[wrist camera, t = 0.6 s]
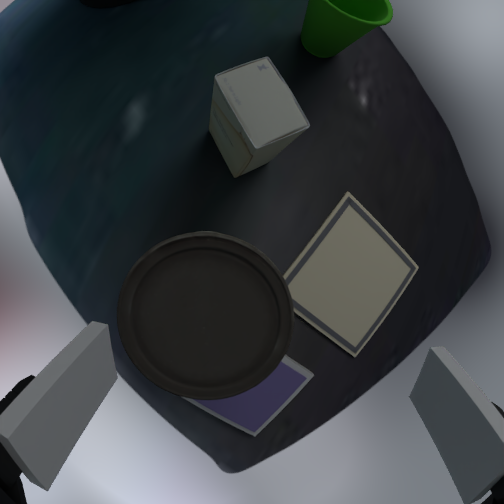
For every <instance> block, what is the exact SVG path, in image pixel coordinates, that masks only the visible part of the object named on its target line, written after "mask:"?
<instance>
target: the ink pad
mask: <svg viewBox="0 0 504 504" xmlns="http://www.w3.org/2000/svg"><path fill="white" fill-rule="evenodd" d="M313 376H314V374H313V373H312V372H311V371H309V370H308V369H306V368H305V367H303V366H302V365H300V364H299V363H297V362H296V361H294V360H293V359H291V358H290V357H288V356H287V355H285V356H284V357H283V359H282V361H281V362H280V363H279V365H278V366H277V368H276V369H275V370H274V371H273V372H272V373H271V374H270V375H269V376H268V377H267V378H266V379H265V380H264V381H262V382H261V383H260V384H258V385H257V386H256V387H254V388H252V389H250V390H248V391H246V392H244V393H241V394H239V395H236V396H233V397H229V398H225V399H219V400H195V399H190V398H185V397H182V398H184V399H186V400H187V401H189V402H191V403H192V404H194V405H196V406H198V407H199V408H201V409H203V410H205V411H206V412H208V413H210V414H212V415H214V416H215V417H217V418H219V419H221V420H223V421H225V422H227V423H229V424H231V425H233V426H235V427H237V428H239V429H241V430H243V431H245V432H247V433H249V434H251V435H253V436H256V435H257V434H258V433H259V432H260V431H261V430H262V429H263V428H264V427H265V426H266V425H267V424H268V423H269V422H270V421H272V420H273V419H274V418H275V417H276V416H277V415H278V414H279V412H280V411H281V410H282V409H283V408H284V407H285V406H286V405H287V404H288V403H289V402H290V401H291V400H292V399H293V398H294V397H295V396H296V395H297V394H298V393H299V392H300V390H301V389H302V388H303V387H304V386H305V385H306V384H307V383H308V382H309V381H310V379H311V378H312V377H313Z"/></svg>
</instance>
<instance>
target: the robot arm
mask: <svg viewBox="0 0 504 504" xmlns="http://www.w3.org/2000/svg"><path fill="white" fill-rule="evenodd" d="M80 1H81V2H82V3H83V4H85V5H87V6H90V7H96V8H104V7H112V6H117V5H122V4H125V3H129V2H132V1H134V0H80ZM116 380H117V373H116V368H115V363H114V358H113V352H112V347H111V341H110V335H109V328H108V324H103V323H98V322H94V321H92V322H91V323H90V324H89V325H88V326H87V327H86V328H85V329H83V330H82V331H81V332H80V333H79V334H78V335H77V336H76V337H75V338H74V339H73V340H72V341H71V342H70V343H69V344H68V345H67V346H66V347H65V348H64V349H63V350H62V351H61V352H60V353H59V354H58V355H57V356H56V357H55V358H54V359H53V360H52V361H51V362H50V363H49V364H48V365H47V366H46V367H45V368H44V369H43V370H42V371H41V372H40V373H39V374H38V375H37V376H36V377H35V376H32V375H30V376H29V377H27V378H25V379H23V380H21V381H20V382H18V383H17V384H16V386H15V387H14V388H13V389H12V391H10V392H9V393H8V394H7V395H6V396H5V398H3V399H2V400H1V401H0V504H27V502H26V498H25V493H24V489H23V484H22V481H21V479H20V477H19V476H20V474H21V473H22V472H23V473H24V475H25V476H26V477H27V478H28V479H29V480H30V482H32V483H34V484H36V485H37V486H39V487H41V488H43V489H44V490H46V491H48V490H49V488H50V487H51V485H52V483H53V481H54V480H55V478H56V476H57V474H58V473H59V471H60V469H61V468H62V466H63V464H64V463H65V461H66V459H67V457H68V456H69V454H70V452H71V451H72V449H73V447H74V446H75V444H76V442H77V441H78V439H79V438H80V436H81V434H82V433H83V431H84V430H85V428H86V426H87V425H88V423H89V422H90V420H91V418H92V417H93V415H94V414H95V412H96V411H97V409H98V407H99V406H100V404H101V403H102V401H103V400H104V398H105V397H106V395H107V393H108V392H109V390H110V389H111V387H112V386H113V384H114V383H115V381H116ZM409 397H410V399H411V401H412V402H413V404H414V406H415V408H416V410H417V411H418V413H419V415H420V417H421V418H422V420H423V422H424V424H425V426H426V428H427V430H428V432H429V433H430V435H431V437H432V439H433V441H434V443H435V445H436V447H437V448H438V451H439V452H440V455H441V457H442V459H443V461H444V462H445V465H446V466H447V468H448V471H449V473H450V475H451V477H452V479H453V481H454V483H455V485H456V487H457V489H458V492H459V494H460V496H461V498H462V500H463V503H464V504H471V503H473V502H475V501H477V500H479V499H481V498H482V497H483V496H484V495H485V494H486V493H487V492H488V491H489V490H491V492H492V494H491V495H490V496H489V497H488V498H487V499H486V500H485V501H484V502H482V503H481V504H504V412H503V410H502V409H501V408H500V407H498V406H497V405H496V404H494V403H493V402H491V401H490V400H489V399H488V398H487V396H486V395H485V394H484V393H483V392H482V390H481V389H480V388H479V387H478V386H477V384H476V383H475V382H474V381H473V380H472V378H471V377H470V376H469V375H468V374H467V373H466V371H465V370H464V369H463V368H462V367H461V366H460V364H459V363H458V362H457V361H456V360H455V359H454V358H453V357H452V355H451V354H450V353H449V352H448V351H447V350H446V349H445V348H444V347H430V349H429V352H428V355H427V357H426V360H425V362H424V365H423V367H422V369H421V372H420V374H419V377H418V379H417V381H416V383H415V385H414V388H413V390H412V392H411V394H410V396H409Z"/></svg>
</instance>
